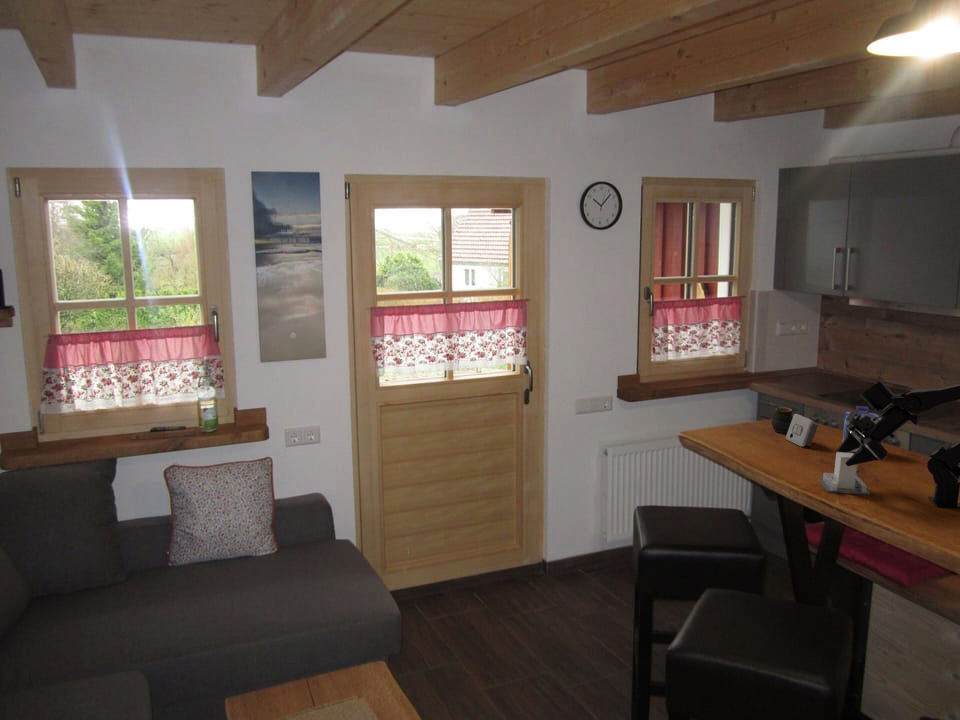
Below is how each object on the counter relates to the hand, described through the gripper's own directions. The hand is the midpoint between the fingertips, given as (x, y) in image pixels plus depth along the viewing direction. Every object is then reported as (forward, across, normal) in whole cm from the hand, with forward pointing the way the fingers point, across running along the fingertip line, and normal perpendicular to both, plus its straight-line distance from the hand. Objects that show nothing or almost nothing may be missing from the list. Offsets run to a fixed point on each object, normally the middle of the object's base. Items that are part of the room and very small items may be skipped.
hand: (841, 459), depth 220 cm
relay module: (+4, 0, +6) cm, 8 cm away
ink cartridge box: (-6, -37, +18) cm, 41 cm away
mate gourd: (+8, -55, +4) cm, 56 cm away
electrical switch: (+6, -42, +6) cm, 43 cm away
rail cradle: (+5, 0, +7) cm, 8 cm away
